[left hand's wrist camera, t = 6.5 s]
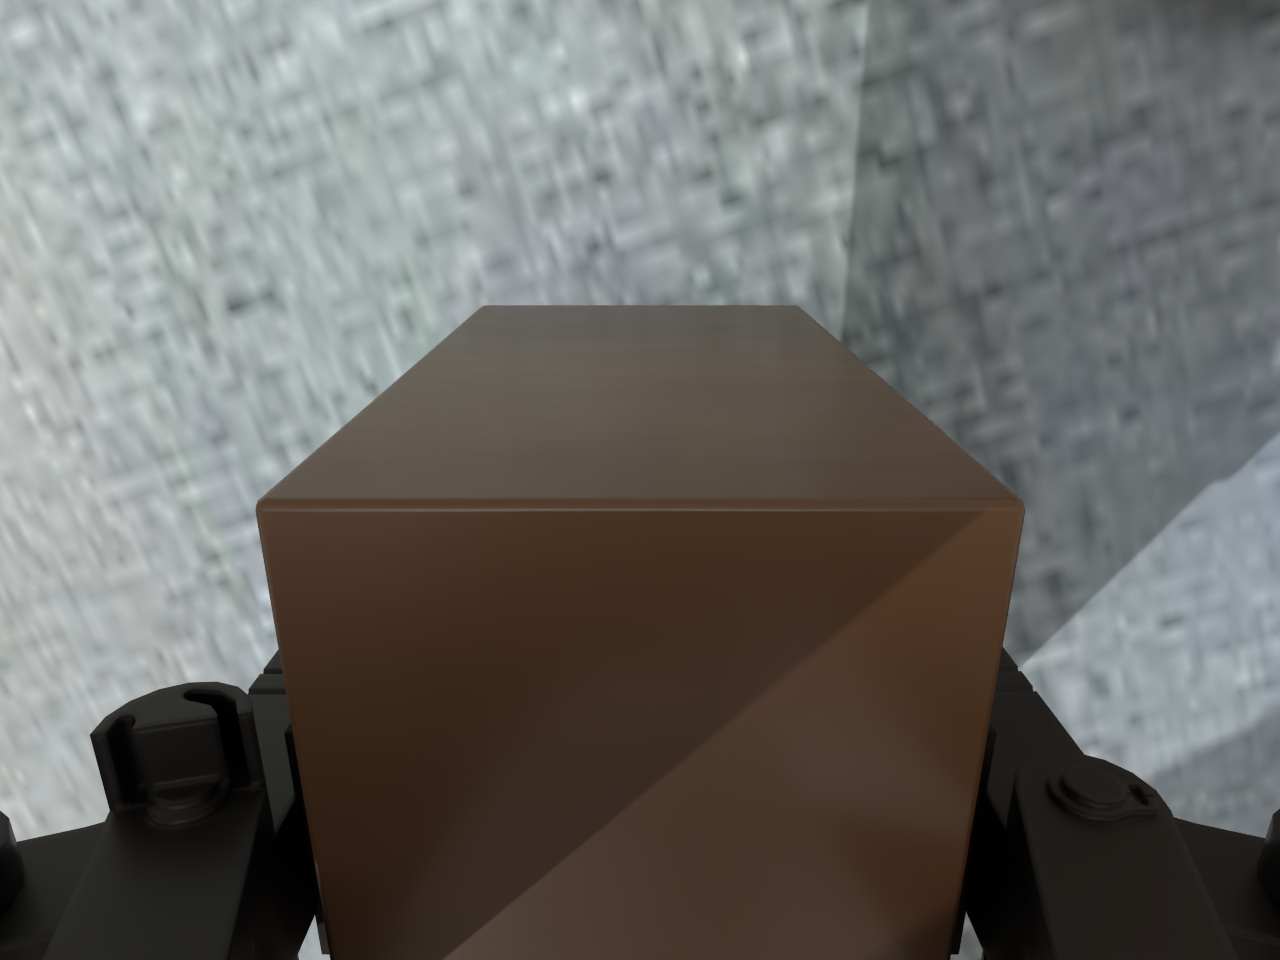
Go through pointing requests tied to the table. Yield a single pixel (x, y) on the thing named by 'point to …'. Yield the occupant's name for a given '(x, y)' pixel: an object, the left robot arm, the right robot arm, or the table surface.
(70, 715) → the table surface
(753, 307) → the bar
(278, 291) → the table surface
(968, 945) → the table surface
